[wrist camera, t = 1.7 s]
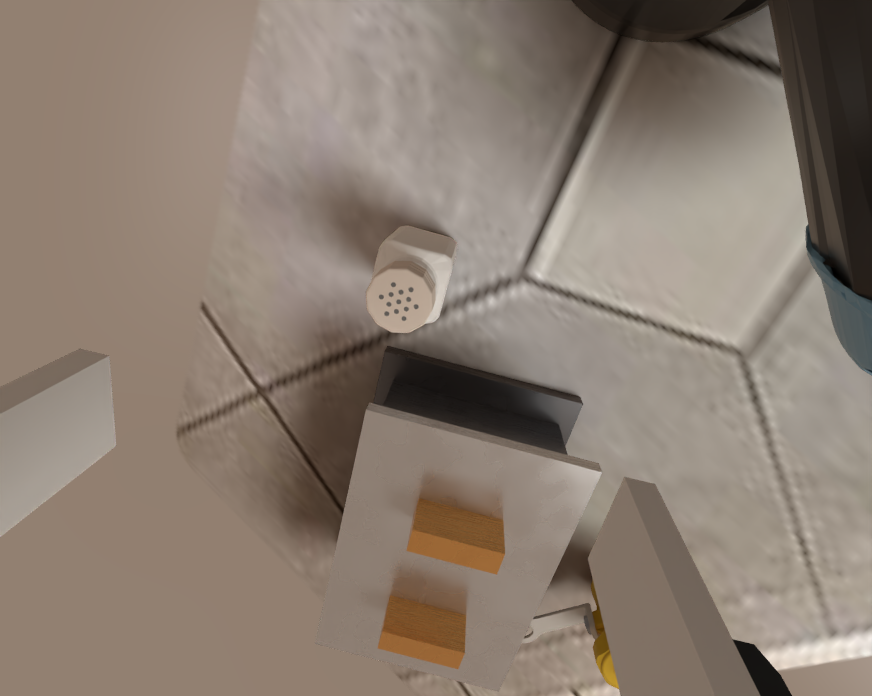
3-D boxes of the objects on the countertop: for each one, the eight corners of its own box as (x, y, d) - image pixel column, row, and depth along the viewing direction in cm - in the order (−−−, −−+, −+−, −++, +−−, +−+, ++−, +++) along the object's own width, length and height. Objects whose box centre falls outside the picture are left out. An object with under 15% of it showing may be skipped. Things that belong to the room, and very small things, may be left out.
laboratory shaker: (387, 346, 33) (344, 432, 23) (580, 397, 33) (624, 506, 23) (342, 544, 41) (294, 679, 30) (501, 586, 41) (507, 734, 30)
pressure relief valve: (651, 588, 39) (703, 721, 30) (516, 623, 42) (525, 755, 33) (630, 539, 38) (678, 665, 28) (490, 579, 41) (493, 705, 31)
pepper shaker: (386, 281, 32) (349, 329, 23) (399, 221, 30) (365, 248, 21) (444, 297, 32) (429, 351, 23) (460, 238, 30) (451, 272, 21)
